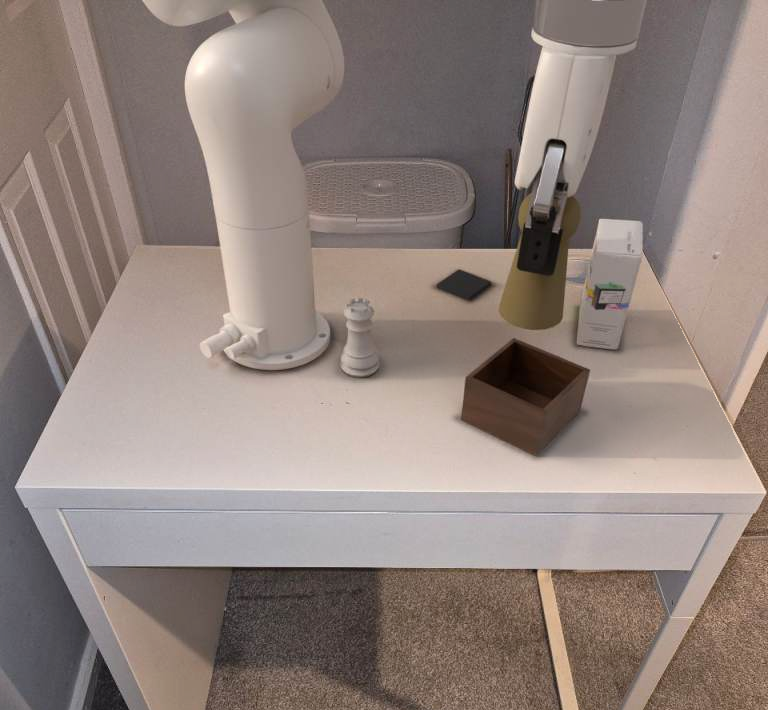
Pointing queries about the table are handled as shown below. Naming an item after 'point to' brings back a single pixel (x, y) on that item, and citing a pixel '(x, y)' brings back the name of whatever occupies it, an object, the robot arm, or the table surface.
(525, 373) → the walnut box
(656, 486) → the table surface
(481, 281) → the rubber pad
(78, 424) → the table surface
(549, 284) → the olive yellow pawn
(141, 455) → the table surface
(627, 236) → the ink box
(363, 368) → the rook chess piece
